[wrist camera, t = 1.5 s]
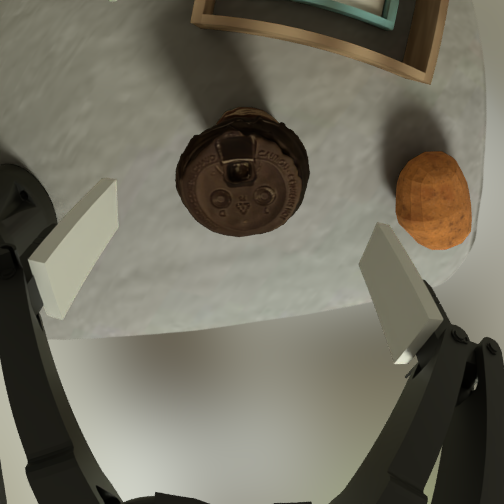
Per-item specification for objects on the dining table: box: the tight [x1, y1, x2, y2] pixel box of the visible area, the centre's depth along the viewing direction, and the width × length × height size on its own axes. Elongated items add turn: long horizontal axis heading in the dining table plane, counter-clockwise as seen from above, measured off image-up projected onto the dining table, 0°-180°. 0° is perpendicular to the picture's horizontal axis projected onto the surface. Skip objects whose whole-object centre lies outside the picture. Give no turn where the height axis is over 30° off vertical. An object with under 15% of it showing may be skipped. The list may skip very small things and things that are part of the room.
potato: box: [396, 151, 472, 250], centre depth 28 cm, size 9×11×8 cm
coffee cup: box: [175, 107, 310, 237], centre depth 23 cm, size 9×8×13 cm
